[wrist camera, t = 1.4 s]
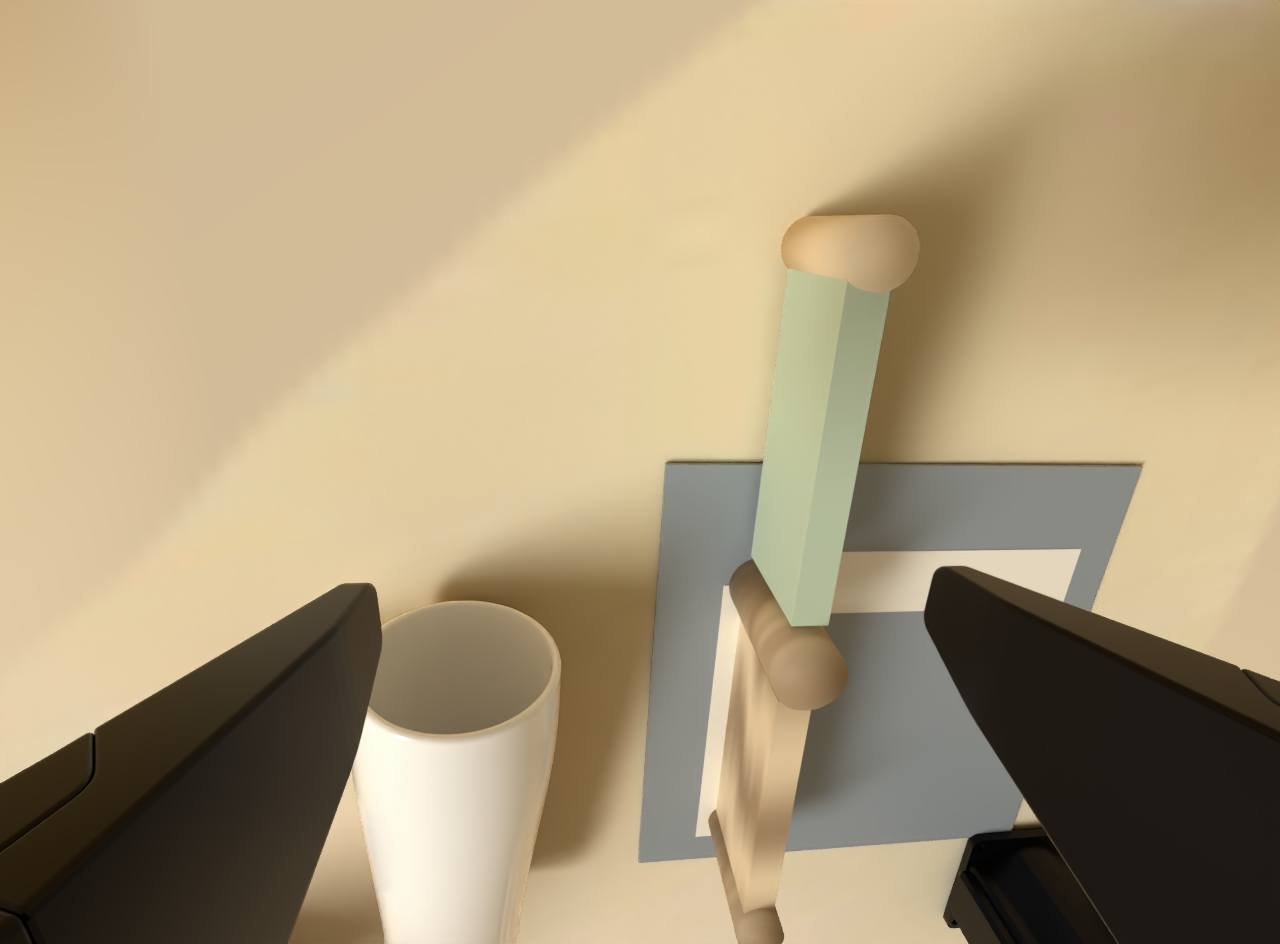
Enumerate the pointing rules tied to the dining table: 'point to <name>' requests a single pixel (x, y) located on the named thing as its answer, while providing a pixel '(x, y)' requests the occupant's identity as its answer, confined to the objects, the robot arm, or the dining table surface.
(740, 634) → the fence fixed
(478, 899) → the white tumbler
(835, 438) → the fence panel
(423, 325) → the dining table surface
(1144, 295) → the dining table surface
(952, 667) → the robot arm
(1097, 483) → the card
